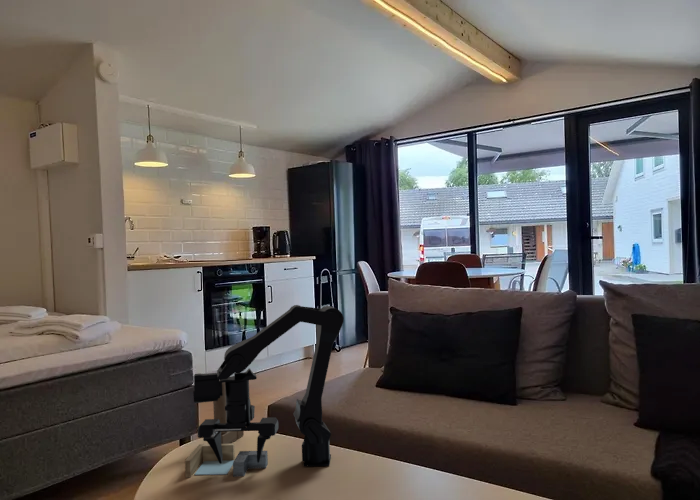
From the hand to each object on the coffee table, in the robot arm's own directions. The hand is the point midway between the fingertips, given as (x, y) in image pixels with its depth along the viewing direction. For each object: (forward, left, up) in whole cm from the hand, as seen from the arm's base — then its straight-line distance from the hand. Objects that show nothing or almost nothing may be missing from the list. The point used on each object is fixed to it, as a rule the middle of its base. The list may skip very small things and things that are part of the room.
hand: (239, 462), depth 126 cm
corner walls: (+8, -3, -2) cm, 9 cm away
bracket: (-2, -1, -3) cm, 4 cm away
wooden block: (+9, -21, -3) cm, 23 cm away
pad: (+7, -3, -2) cm, 8 cm away
